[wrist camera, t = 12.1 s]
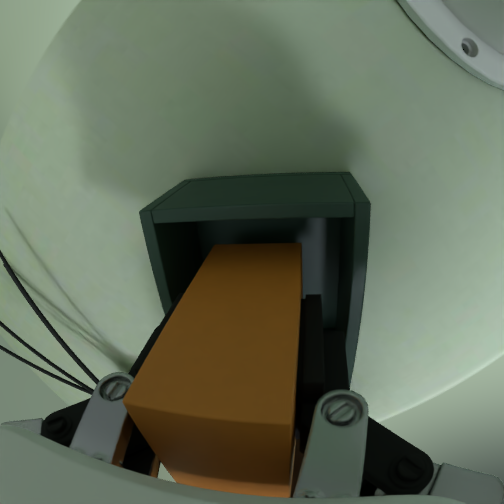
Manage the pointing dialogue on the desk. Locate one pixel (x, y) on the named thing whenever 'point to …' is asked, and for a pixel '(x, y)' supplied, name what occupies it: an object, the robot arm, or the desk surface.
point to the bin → (268, 235)
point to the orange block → (227, 374)
